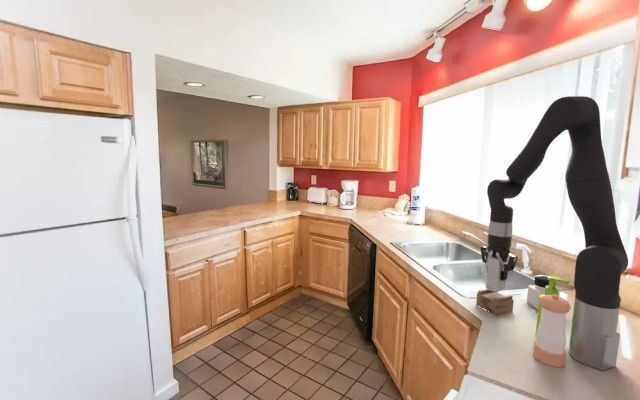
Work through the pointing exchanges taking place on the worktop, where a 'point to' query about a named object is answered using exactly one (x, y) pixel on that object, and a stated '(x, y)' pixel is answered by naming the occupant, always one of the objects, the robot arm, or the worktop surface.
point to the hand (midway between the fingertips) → (496, 277)
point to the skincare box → (494, 275)
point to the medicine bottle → (537, 290)
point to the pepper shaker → (551, 331)
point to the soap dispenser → (550, 293)
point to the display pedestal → (495, 302)
